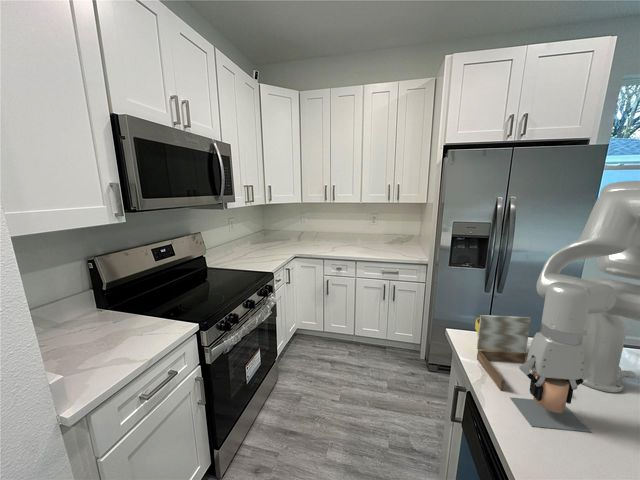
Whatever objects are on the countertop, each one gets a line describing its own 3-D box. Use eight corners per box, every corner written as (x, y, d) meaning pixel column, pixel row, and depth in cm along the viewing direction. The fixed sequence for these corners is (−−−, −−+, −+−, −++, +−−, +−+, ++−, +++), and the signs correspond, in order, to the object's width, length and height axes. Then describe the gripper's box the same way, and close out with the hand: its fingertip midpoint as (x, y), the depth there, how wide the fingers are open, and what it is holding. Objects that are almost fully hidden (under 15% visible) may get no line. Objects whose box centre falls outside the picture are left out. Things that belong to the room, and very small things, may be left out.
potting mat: (561, 402, 69) (561, 401, 69) (591, 432, 61) (591, 431, 61) (509, 397, 71) (509, 397, 71) (531, 426, 62) (531, 425, 62)
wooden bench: (523, 360, 87) (529, 317, 84) (558, 395, 72) (567, 344, 69) (475, 357, 89) (480, 315, 86) (500, 390, 74) (506, 340, 71)
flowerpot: (552, 395, 68) (556, 371, 67) (571, 414, 62) (576, 388, 61) (527, 392, 69) (531, 369, 67) (544, 411, 63) (548, 385, 61)
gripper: (586, 327, 64) (574, 390, 67) (512, 323, 67) (504, 384, 70) (616, 344, 57) (601, 414, 60) (532, 339, 59) (522, 406, 62)
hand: (549, 397), depth 65 cm, fingers closed on flowerpot, 6 cm apart
